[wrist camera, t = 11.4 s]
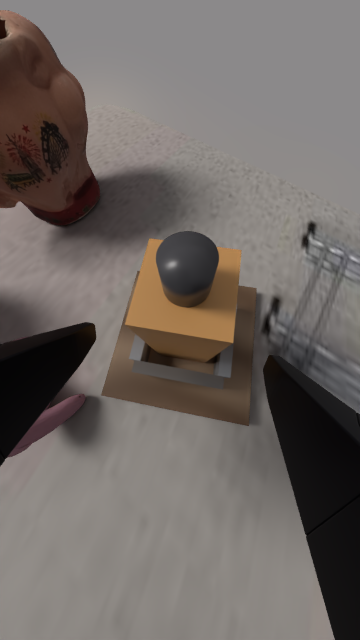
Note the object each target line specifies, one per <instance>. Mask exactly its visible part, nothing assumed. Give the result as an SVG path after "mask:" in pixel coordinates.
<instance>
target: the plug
mask: <svg viewBox="0 0 360 640" xmlns="http://www.w3.org/2000/svg"><path fill="white" fill-rule="evenodd" d="M240 261H241V250H237V249H229V248H221V247H216V245H215V244H214V243H213V241H212V240H210V239H209V238H208V237H206V236H205V235H203V234H200V233H197V232H192V231H184V232H178V233H175V234H173V235H171V236H169V237H167V238H166V239H165V240H158V239H150V238H149V241H148V245H147V248H146V252H145V255H144V259H143V262H142V266H141V269H140V273H139V276H138V280H137V283H136V287H135V290H134V294H133V297H132V301H131V304H130V308H129V311H128V315H127V318H126V322H125V325H126V326H127V327H128V328H129V329H130V330H132V331H133V332H134V333H135V334H136V335H137V336H139V337H140V338H141V339H142V340H143V341H144V342H146V343H147V344H148V345H149V346H150V347H151V348H152V349H154V350H155V351H156V352H157V353H158V354H159V355H163V356H169V357H174V358H180V359H185V360H191V361H196V362H202V363H205V362H207V361H208V360H210V359H211V358H212V357H214V356H215V355H217V354H218V353H220V352H221V351H222V350H224V349H225V348H227V347H228V346H230V345H231V344H232V343H233V340H234V329H235V317H236V306H237V295H238V284H239V273H240Z"/></svg>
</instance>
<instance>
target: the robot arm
mask: <svg viewBox="0 0 360 640" xmlns="http://www.w3.org/2000/svg"><path fill="white" fill-rule="evenodd" d="M95 341H96V330H95V325H94V324H93V323H88V322H84V323H81V324H77V325H73V326H69V327H65V328H61V329H57V330H53V331H49V332H45V333H41V334H38V335H34V336H30V337H26V338H22V339H18V340H14V341H10V342H6V343H3V344H0V466H1V465H2V463H3V462H4V461H5V459H6V458H7V457H8V456H9V454H10V453H11V452H12V451H13V449H14V448H15V447H16V446H17V444H18V443H19V442H20V440H21V439H22V438H23V437H24V435H25V434H26V433H27V432H28V430H29V429H30V428H31V427H32V425H33V424H34V423H35V421H36V420H37V419H38V418H39V416H40V415H41V414H42V413H43V411H44V410H45V409H46V408H47V406H48V405H49V404H50V402H51V401H52V400H53V399H54V397H55V396H56V395H57V394H58V392H59V391H60V390H61V389H62V387H63V386H64V385H65V383H66V382H67V381H68V380H69V378H70V377H71V376H72V375H73V373H74V372H75V371H76V370H77V368H78V367H79V366H80V364H81V363H82V361H83V360H84V358H85V357H86V355H87V354H88V352H89V350H90V349H91V347H92V346H93V344H94V342H95ZM263 374H264V380H265V386H266V393H267V398H268V403H269V407H270V410H271V414H272V417H273V421H274V424H275V428H276V432H277V435H278V439H279V442H280V446H281V449H282V453H283V456H284V460H285V464H286V467H287V471H288V474H289V478H290V481H291V485H292V488H293V492H294V496H295V499H296V503H297V506H298V510H299V513H300V517H301V520H302V524H303V527H304V531H305V534H306V535H307V536H306V539H307V542H308V546H309V549H310V553H311V556H312V560H313V564H314V567H315V571H316V574H317V578H318V581H319V585H320V588H321V592H322V596H323V599H324V603H325V606H326V610H327V613H328V617H329V620H330V624H331V628H332V631H333V635H334V638H335V640H360V414H359V413H356V411H354V410H353V409H352V408H350V407H349V406H348V405H346V404H345V403H343V402H342V401H341V400H339V399H338V398H336V397H335V396H334V395H332V394H331V393H330V392H328V391H327V390H325V389H324V388H323V387H321V386H320V385H319V384H317V383H316V382H314V381H313V380H312V379H310V378H309V377H307V376H306V375H305V374H303V373H302V372H301V371H299V370H298V369H296V368H295V367H294V366H292V365H291V364H289V363H288V362H287V361H285V360H284V359H283V358H281V357H280V356H277V355H269V356H268V358H267V361H266V363H265V366H264V368H263Z"/></svg>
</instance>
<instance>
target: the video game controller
mask: <svg viewBox="0 0 360 640" xmlns="http://www.w3.org/2000/svg"><path fill="white" fill-rule="evenodd" d="M23 338H26V337H23ZM19 339H22V338H19ZM16 340H18V339H16ZM13 341H14V340H13ZM85 398H86V397H85V395H84V394H77V395H74V396H71V397H69V398H67V399H65V400H64V401H62V402H60V403H58V404H57V405H55V406H53V407H51V408H49V409H48V407H49V405H50V404H49V405H48V406H47V408H46V409H45V410H44V411H43V413H42V414H41V415H40V416H39V418H38V419H37V420H36V421H35V423H34V424H33V425H32V427H31V428H30V429H29V430H28V432H27V433H26V434H25V435H24V437H23V438H22V439H21V440H20V442H19V443H18V444H17V446H16V447H15V448H14V449H13V451H12V452H11V453H10V454H9V456H8V457H12V456H14V455H17V454H19V453H21V452H22V451H24V450H26V449H27V448H28V447H29V446H30V445H31V444H32V443H34V442H36V441H37V440H39V439H40V438H42V437H44V436H45V435H47V434H48V433H50V432H51V431H53V430H54V429H55V428H57V427H58V426H59V425H61V424H62V423H63V422H65V421H66V420H67V419H68V418H69V417H71V416H72V415H73V414H74V413H75V412H76V411H77V410H78V409H79V408H80V407H81V406H82V405H83V403H84V402H85ZM50 403H51V402H50ZM8 457H7V458H8Z"/></svg>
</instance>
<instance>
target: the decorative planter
mask: <svg viewBox="0 0 360 640" xmlns="http://www.w3.org/2000/svg"><path fill="white" fill-rule="evenodd" d="M87 132H88V120H87V114H86V110H85V96H84V92H83V89H82V87H81V85H80V83H79V82H78V80H77V79H76V78H75V76H73V75H72V74H71V73H70V72H69V71H68V70H66V69H65V68H64V67H63V65H62V64H61V63H60V61H59V59H58V57H57V55H56V53H55V51H54V49H53V47H52V45H51V44H50V42H49V41H48V39H47V38H46V37H45V35H44V34H43V33H42V31H41V30H40V29H39V28H38V27H37V26H36V25H35V24H33V23H32V22H30V21H29V20H27V19H26V18H24V17H22V16H21V15H19V14H17V13H14V12H11V11H6V10H5V11H4V10H0V208H12V207H15V206H16V203H17V202H19V201H21V202H22V203H23V204H24V205H25V206H26V207H27V208H28V209H29V210H30V211H31V212H32V213H33V214H34V215H35V216H36V217H38V218H40V219H41V220H44V221H46V222H49V223H51V224H55V225H67V224H70V223H72V222H75V221H77V220H79V219H80V218H82V217H84V216H85V215H86V214H87V213H88V212H89V211H90V210H91V209H92V208H93V207H94V206H95V204H96V203H97V202H98V200H99V198H100V188H99V185H98V183H97V180H96V178H95V176H94V174H93V172H92V170H91V168H90V166H89V164H88V161H87V158H86V140H87Z"/></svg>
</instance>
